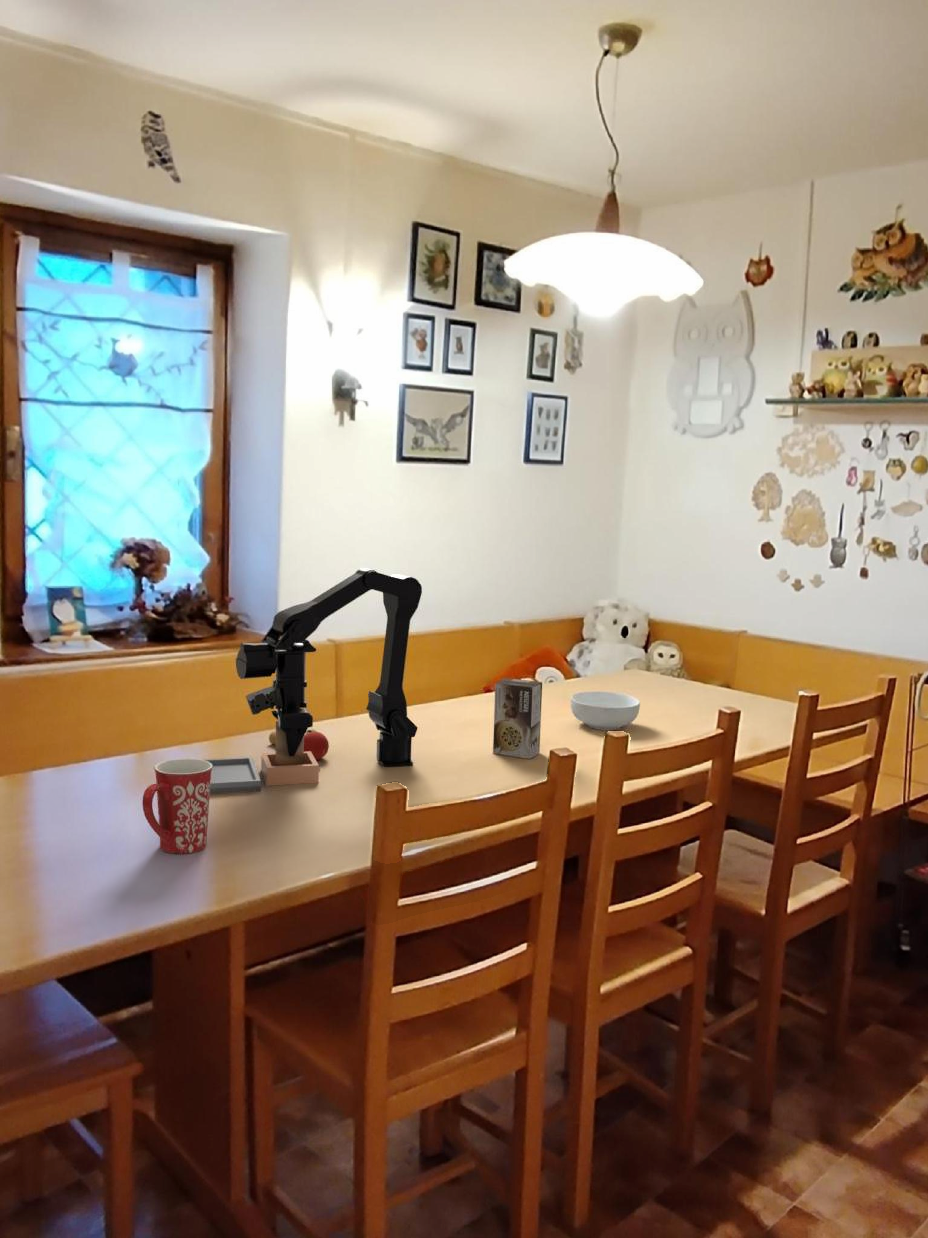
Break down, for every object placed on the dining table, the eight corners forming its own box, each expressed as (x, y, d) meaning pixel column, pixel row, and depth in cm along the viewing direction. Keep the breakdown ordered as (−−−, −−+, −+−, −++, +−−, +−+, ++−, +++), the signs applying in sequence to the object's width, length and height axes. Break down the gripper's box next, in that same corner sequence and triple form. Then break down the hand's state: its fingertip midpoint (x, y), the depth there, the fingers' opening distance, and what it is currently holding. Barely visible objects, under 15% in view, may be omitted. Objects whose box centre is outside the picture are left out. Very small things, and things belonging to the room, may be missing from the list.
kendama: (257, 753, 226) (306, 761, 213) (259, 724, 226) (308, 730, 213) (286, 754, 231) (335, 761, 218) (288, 725, 232) (338, 731, 219)
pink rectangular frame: (310, 767, 212) (310, 751, 212) (318, 782, 203) (318, 765, 202) (261, 770, 209) (261, 753, 209) (266, 785, 200) (267, 768, 199)
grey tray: (252, 766, 211) (252, 757, 211) (260, 790, 196) (260, 780, 196) (196, 769, 208) (196, 759, 208) (201, 794, 193) (201, 784, 193)
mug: (184, 832, 174) (184, 754, 172) (224, 844, 169) (224, 764, 167) (124, 854, 163) (123, 772, 161) (164, 868, 158) (164, 783, 156)
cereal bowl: (560, 729, 251) (562, 701, 250) (579, 715, 266) (581, 688, 265) (629, 738, 245) (631, 709, 244) (644, 723, 260) (646, 695, 259)
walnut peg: (301, 771, 209) (301, 718, 208) (305, 779, 204) (305, 725, 202) (273, 773, 208) (274, 719, 206) (277, 781, 202) (277, 726, 201)
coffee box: (540, 752, 230) (544, 681, 227) (529, 760, 224) (533, 687, 221) (502, 746, 233) (505, 676, 231) (491, 753, 228) (494, 681, 225)
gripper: (244, 666, 209) (243, 741, 211) (253, 686, 192) (253, 767, 194) (299, 665, 212) (298, 739, 215) (313, 684, 195) (312, 764, 197)
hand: (289, 752), depth 205 cm, fingers closed on walnut peg, 5 cm apart
